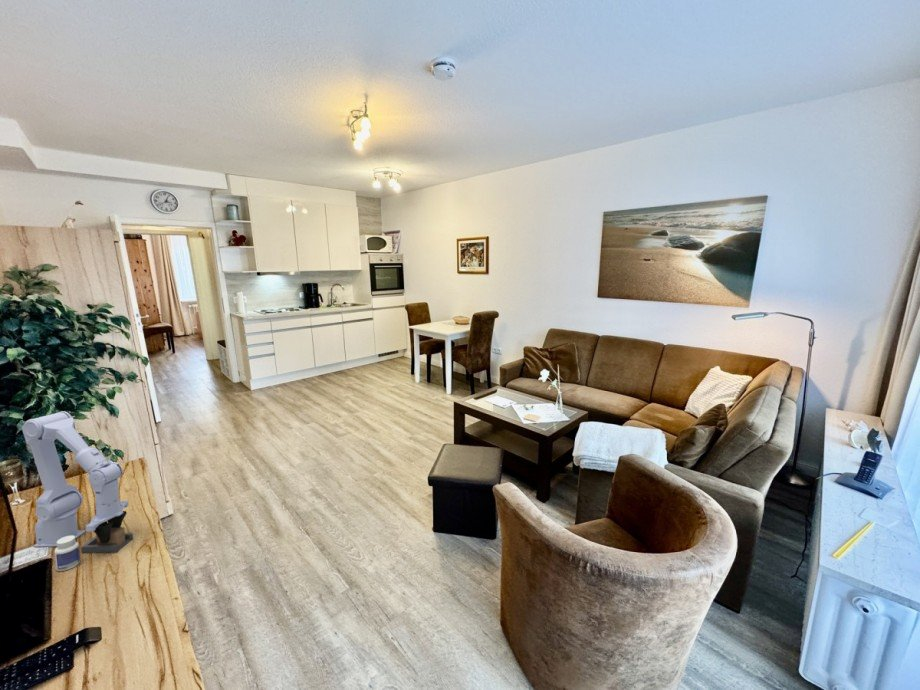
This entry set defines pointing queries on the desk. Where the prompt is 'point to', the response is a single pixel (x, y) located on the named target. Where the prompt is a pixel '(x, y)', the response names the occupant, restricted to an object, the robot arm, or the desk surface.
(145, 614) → the desk surface
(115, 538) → the walnut block
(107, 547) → the gray u-shaped channel bracket
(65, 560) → the pill bottle
